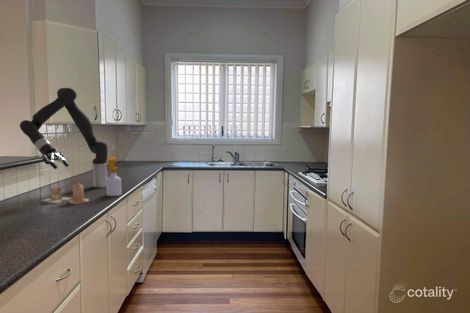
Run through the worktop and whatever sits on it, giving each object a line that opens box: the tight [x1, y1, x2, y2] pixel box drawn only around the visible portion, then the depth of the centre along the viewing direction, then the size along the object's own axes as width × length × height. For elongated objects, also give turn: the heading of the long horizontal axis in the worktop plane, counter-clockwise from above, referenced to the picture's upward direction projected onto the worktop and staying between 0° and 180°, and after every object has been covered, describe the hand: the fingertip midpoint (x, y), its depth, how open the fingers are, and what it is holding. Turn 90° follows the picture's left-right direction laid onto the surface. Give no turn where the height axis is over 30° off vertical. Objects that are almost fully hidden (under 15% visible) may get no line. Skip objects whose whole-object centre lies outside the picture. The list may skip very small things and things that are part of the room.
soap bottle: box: [105, 156, 123, 197], centre depth 198 cm, size 9×9×25 cm
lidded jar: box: [72, 183, 85, 202], centre depth 180 cm, size 6×6×10 cm
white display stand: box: [39, 186, 73, 205], centre depth 182 cm, size 12×12×8 cm
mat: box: [68, 197, 90, 205], centre depth 181 cm, size 11×11×1 cm
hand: (62, 167), depth 181 cm, fingers open, 8 cm apart
